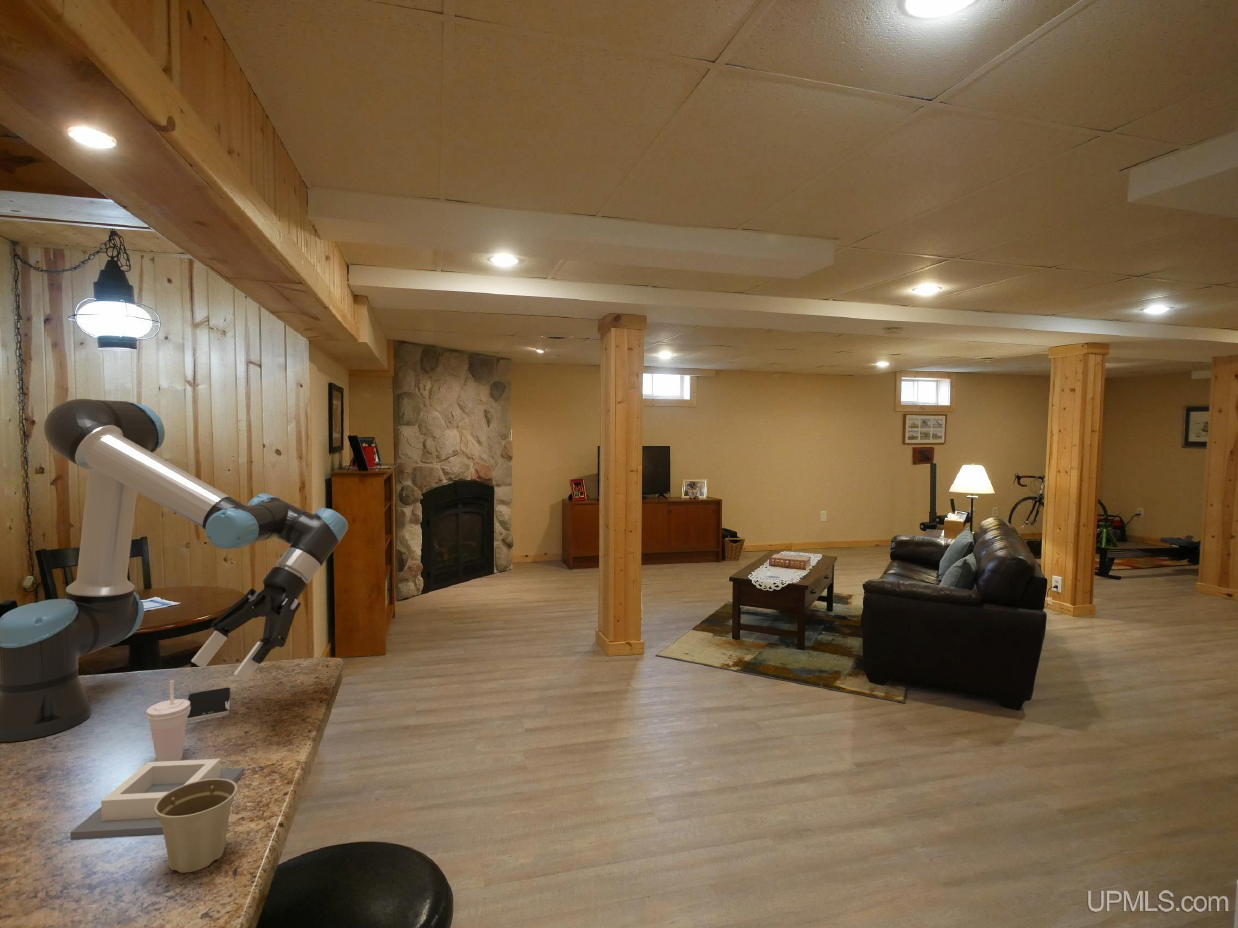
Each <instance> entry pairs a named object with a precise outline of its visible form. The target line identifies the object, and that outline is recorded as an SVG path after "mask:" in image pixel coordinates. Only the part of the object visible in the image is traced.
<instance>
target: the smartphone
mask: <svg viewBox="0 0 1238 928" xmlns="http://www.w3.org/2000/svg"><path fill="white" fill-rule="evenodd" d="M187 700H188V701H190V707H191V708H190V709H189V710H188V717H187V722H191V721H196V720H202V719H208V718H213V717H217V716H223V715H228V714H229V715H230V712H229V710H231V708H230V707H231V688H230V687H227V686H226V687H222V688H216V689H210V690H204V691H198V692H192V693H189V694H188V699H187ZM229 715H228V716H229Z"/></svg>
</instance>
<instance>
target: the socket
mask: <svg viewBox="0 0 1238 928" xmlns="http://www.w3.org/2000/svg"><path fill="white" fill-rule="evenodd" d="M244 773H245V769H244V767H236V768H235V767H234V768H233V767H232V768H221V759H220V758H211V759H210V758H209V759H187V760H186V759H185V760H180V761H161V762H157V761H148V762H147V763H145V764H144V765H143V766H142V767H141V768H139V769H138V770H136V772H134V773H133V774H132V775H131V776H129V777H128V778H127V779H126V780H125V781H123V782H121V784H120V785H119V786H117V787H116V788H115V789H114V790H112V791H111V792H110V793H108V794H107V795H106V796H104V797H103V799H102V800H101V801H100V804H101V805H100V807H99V808H97V810H96V811H94V812H93V813H92V814H91V815H89V816H88V817H87V818H86V819H84V820H83V821H82V822H81V823H80V824H79V825H77V826H76V827H75V828H73V830H71V831H70V833H69V835H70V840H80V839H99V838H111V837H112V838H114V837H115V838H118V837H131V836H133V837H134V836H135V837H136V836H150V835H164V833H163V828H162V824H161V823H160V822H159V818H158V816H157V815H156V814H155V813H154V806H155V804H156V802H157V801H158V800H159V799H160V798H161V797H162V796H163V795H165V794H166V793H168V792H169V791H171V790H173V789H175V788H177V787H180V786H183V785H185V784H188V783H192V782H195V781H199V780H204V779H212V778H222V779H229V780H231V781H234V782H235V783H236V784H237V782H238V781H239V780H240V778H242V777H243V775H244Z"/></svg>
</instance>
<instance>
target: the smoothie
mask: <svg viewBox="0 0 1238 928" xmlns="http://www.w3.org/2000/svg"><path fill="white" fill-rule="evenodd" d="M174 689H175V682H174V679H173V680H169V699H168V700H164V701H160V702H158V703H155V704H153V705H151V706H149V707H148V708H147V709H146V711H145V712H146V713H145V714H146V715H145V717H146V718H147V719H148V721H149V727H150V728H149V729H150V732H151V738H152V743H153V749H154V750H153V751H154V755H155V762H161V761H182V759H183V757H184V748H185V747H184V746H185V739H186V734H187V733H186V732H187V724H188V723H187V717H188V710H189V709H190V708H191V707H190V701H188V699H185V698H179V699H178V698H175V690H174Z"/></svg>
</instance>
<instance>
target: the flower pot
mask: <svg viewBox="0 0 1238 928" xmlns="http://www.w3.org/2000/svg"><path fill="white" fill-rule="evenodd" d="M237 792H238V785H237V782H236V783H235V782H234V781H231V780H229V779H222V778H212V779H204V780H199V781H195V782H192V783H188V784H185V785H183V786H180V787H177V788H175V789H173V790H171V791H169V792H168V793H166V794H165V795H163V796H162V797H161V798H160V799H159V800H158V801H157V802H156V804H155V806H154V813H155V814H156V815H157V816H158V818H159V822H160V823H161V824H162V828H163V833H164V834H163V837H164V843H165V848H166V852H167V853H166V854H167V860H168V866H169V869H170V870H171V871H176V872H178V873H180V874H184V873H185V874H186V873H191V872H197V871H199V870H203V869H205V868H207V867H208V866H210V865H211V864H212V863H213V862H214V861H217V860H219V859H220V858H221V857H222V855H223V854H224V852H225V847H226V846H225V845H226V839H227V832H228V824H229V821H230V820H229V819H230V818H229V817H230V813H231V806H232V805H233V803H234V798H235V796H236V795H237Z"/></svg>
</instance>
